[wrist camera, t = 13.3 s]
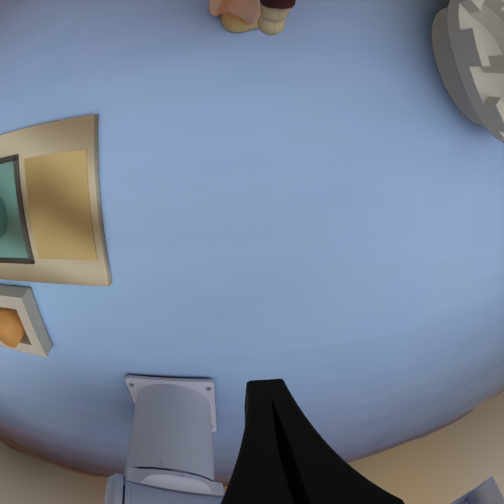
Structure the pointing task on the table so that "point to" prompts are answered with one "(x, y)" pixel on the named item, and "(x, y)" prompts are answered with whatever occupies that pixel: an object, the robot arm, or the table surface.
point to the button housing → (26, 319)
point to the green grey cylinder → (2, 218)
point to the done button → (10, 327)
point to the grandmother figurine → (252, 14)
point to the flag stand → (473, 59)
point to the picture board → (53, 204)
